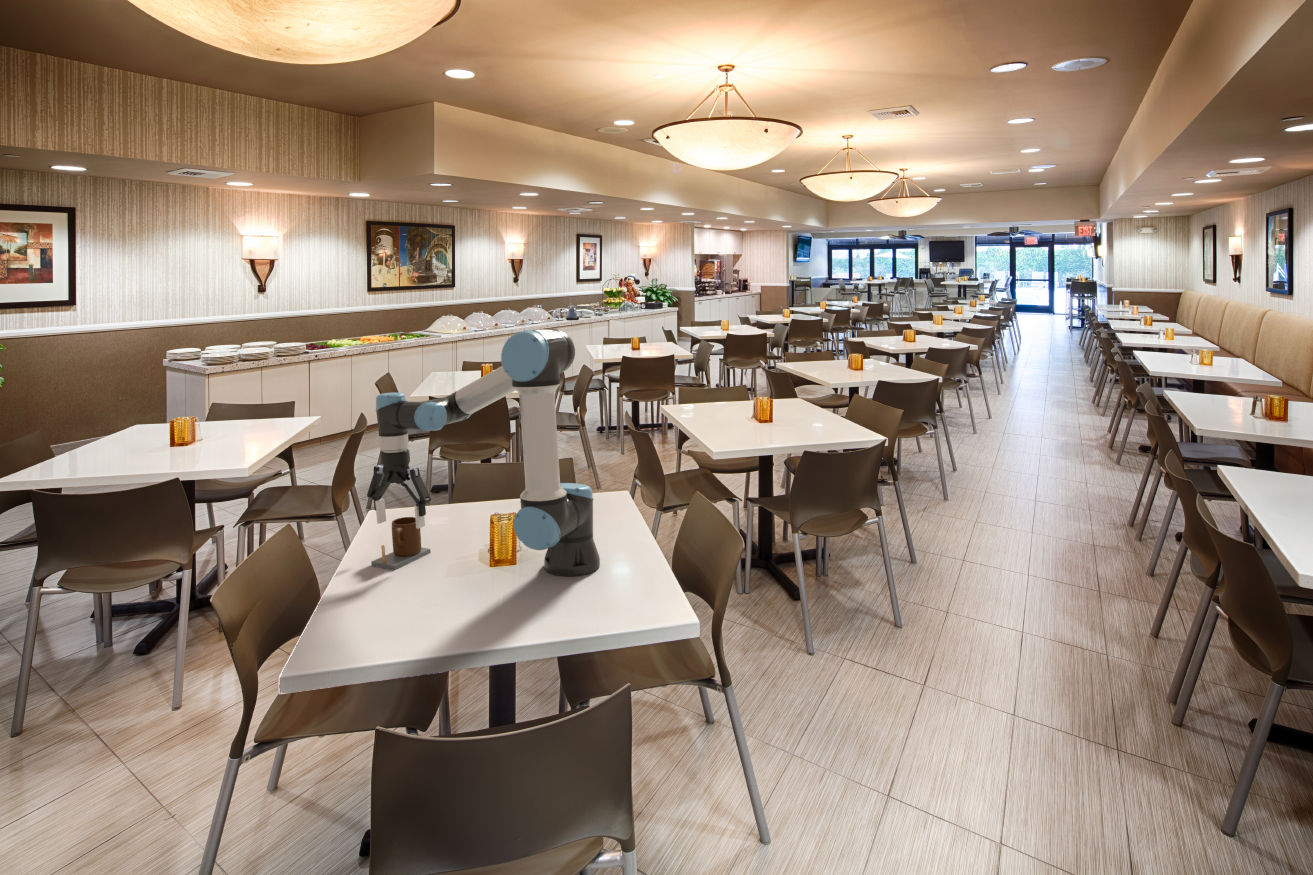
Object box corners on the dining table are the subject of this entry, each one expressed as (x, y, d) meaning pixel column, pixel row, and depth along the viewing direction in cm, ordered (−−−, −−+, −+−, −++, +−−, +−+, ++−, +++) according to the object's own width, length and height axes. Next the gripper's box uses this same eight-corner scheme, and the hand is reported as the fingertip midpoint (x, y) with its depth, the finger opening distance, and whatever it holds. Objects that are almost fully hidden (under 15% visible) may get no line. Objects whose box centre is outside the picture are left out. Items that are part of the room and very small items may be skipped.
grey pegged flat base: (430, 552, 210) (429, 532, 209) (394, 570, 197) (393, 548, 195) (408, 549, 213) (407, 528, 212) (371, 565, 200) (370, 544, 198)
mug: (410, 563, 198) (408, 530, 197) (382, 562, 199) (380, 529, 197) (425, 548, 210) (423, 516, 208) (399, 547, 210) (397, 516, 209)
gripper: (440, 449, 197) (446, 525, 201) (369, 444, 207) (375, 516, 211) (422, 455, 191) (428, 533, 195) (349, 449, 200) (356, 523, 204)
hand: (400, 524), depth 203 cm, fingers open, 13 cm apart
